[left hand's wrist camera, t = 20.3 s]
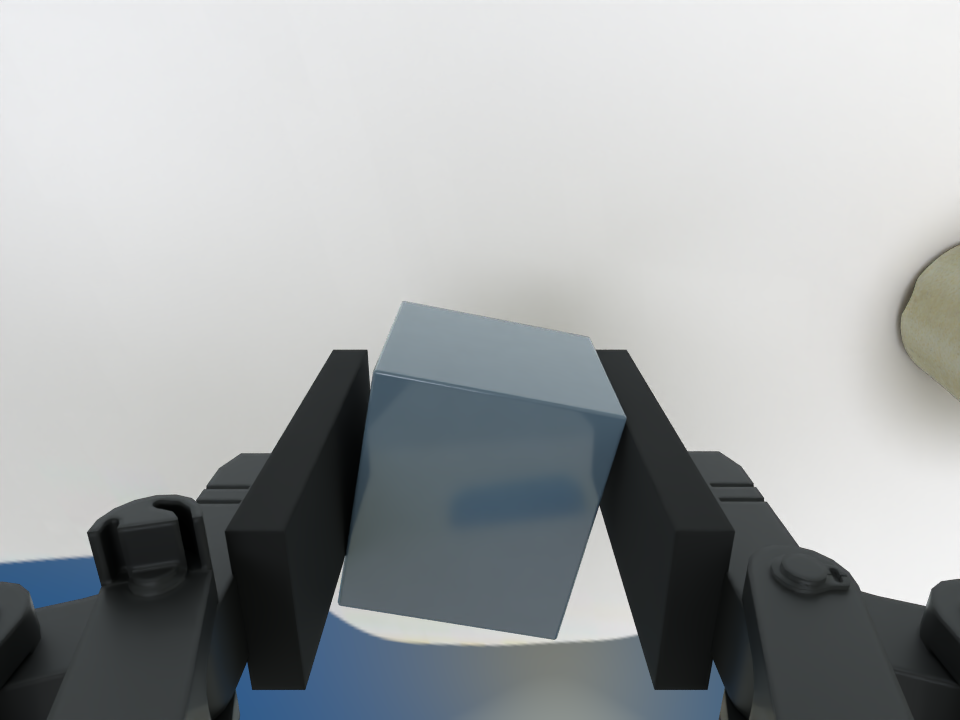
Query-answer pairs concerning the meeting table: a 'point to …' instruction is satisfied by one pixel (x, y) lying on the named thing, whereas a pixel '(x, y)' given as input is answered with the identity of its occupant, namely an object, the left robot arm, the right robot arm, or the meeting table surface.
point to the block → (479, 472)
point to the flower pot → (936, 321)
